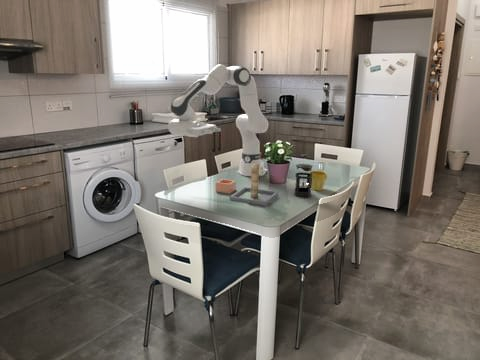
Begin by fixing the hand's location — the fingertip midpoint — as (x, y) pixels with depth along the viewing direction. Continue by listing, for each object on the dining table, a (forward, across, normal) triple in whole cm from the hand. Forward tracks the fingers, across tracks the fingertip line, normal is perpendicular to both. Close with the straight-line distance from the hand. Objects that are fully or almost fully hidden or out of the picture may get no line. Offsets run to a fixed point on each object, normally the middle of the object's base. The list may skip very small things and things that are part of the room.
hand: (216, 131), depth 217 cm
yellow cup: (+51, +30, +34) cm, 69 cm away
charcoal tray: (+25, -4, +34) cm, 42 cm away
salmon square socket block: (+6, 0, +34) cm, 35 cm away
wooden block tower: (+25, -4, +33) cm, 42 cm away
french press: (+47, +14, +34) cm, 60 cm away
